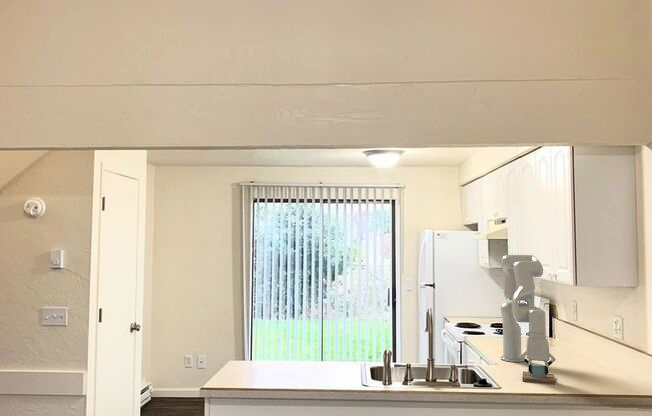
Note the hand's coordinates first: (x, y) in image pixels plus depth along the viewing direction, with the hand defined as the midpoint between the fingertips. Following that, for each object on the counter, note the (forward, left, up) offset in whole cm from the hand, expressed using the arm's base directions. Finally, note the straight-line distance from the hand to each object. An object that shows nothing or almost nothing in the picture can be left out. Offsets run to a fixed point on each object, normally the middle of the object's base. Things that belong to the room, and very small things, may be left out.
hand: (538, 373), depth 242 cm
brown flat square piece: (0, 0, -3) cm, 3 cm away
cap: (0, 0, -1) cm, 1 cm away
